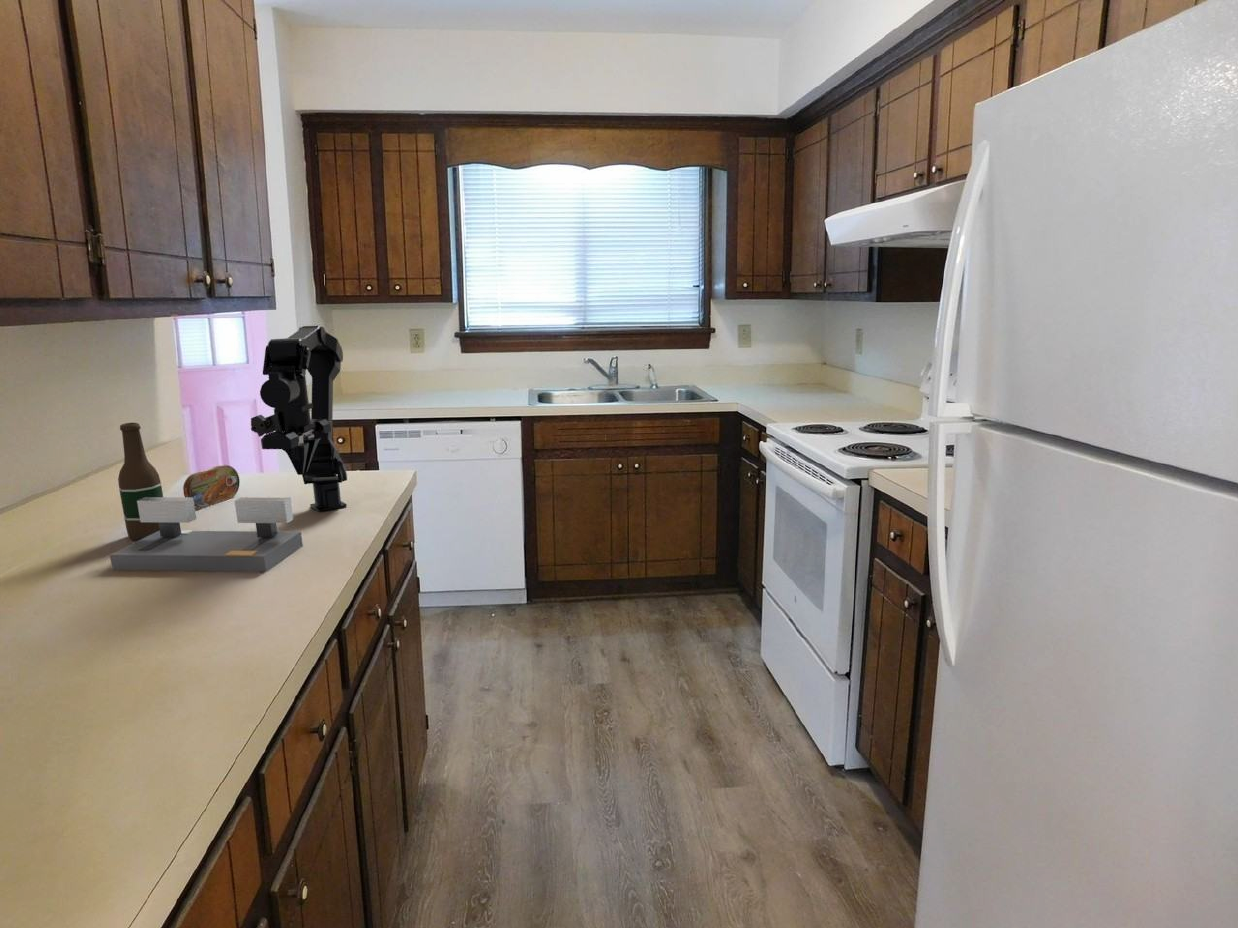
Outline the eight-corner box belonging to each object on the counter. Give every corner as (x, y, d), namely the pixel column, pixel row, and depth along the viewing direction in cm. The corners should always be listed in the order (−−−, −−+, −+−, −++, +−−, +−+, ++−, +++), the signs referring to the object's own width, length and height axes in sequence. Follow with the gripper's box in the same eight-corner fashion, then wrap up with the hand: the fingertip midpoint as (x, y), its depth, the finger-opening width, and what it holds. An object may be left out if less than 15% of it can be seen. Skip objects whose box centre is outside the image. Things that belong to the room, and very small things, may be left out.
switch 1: (151, 532, 158) (145, 497, 156) (198, 533, 157) (193, 497, 155) (143, 536, 156) (136, 500, 154) (191, 537, 155) (185, 500, 153)
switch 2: (246, 533, 156) (241, 497, 154) (295, 533, 155) (290, 497, 153) (239, 537, 154) (234, 500, 152) (289, 537, 153) (284, 501, 151)
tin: (194, 511, 184) (188, 476, 182) (183, 511, 185) (178, 476, 183) (242, 494, 198) (238, 461, 196) (232, 493, 199) (227, 461, 197)
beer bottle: (119, 538, 166) (98, 425, 160) (155, 527, 172) (136, 419, 167) (141, 543, 162) (121, 428, 156) (177, 532, 169) (159, 421, 163)
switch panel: (161, 544, 161) (158, 529, 160) (302, 545, 158) (300, 530, 157) (112, 569, 147) (109, 553, 147) (266, 571, 145) (263, 555, 144)
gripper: (279, 393, 173) (287, 463, 177) (230, 408, 155) (241, 485, 158) (328, 393, 172) (335, 463, 175) (285, 407, 154) (294, 485, 157)
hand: (302, 473), depth 167 cm, fingers closed
